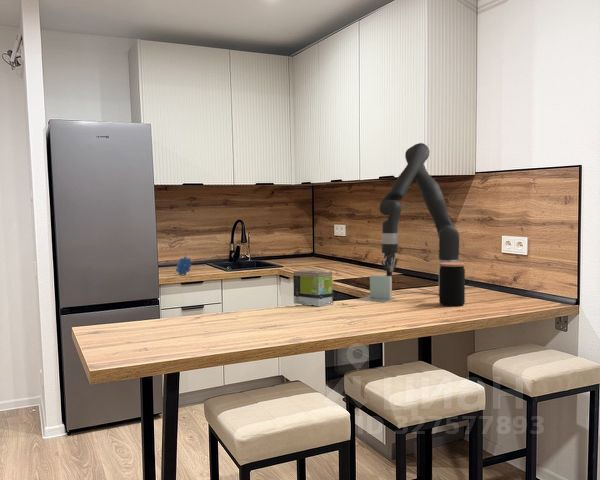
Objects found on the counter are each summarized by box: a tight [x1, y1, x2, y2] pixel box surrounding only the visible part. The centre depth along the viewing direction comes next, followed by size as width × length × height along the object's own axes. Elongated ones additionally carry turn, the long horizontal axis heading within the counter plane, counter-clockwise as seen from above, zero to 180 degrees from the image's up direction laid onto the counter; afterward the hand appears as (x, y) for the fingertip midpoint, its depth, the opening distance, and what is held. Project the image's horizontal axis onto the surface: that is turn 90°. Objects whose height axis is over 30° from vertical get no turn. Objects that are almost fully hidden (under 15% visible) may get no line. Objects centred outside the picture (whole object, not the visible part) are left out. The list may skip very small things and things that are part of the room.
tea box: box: [292, 269, 333, 307], centre depth 250 cm, size 15×10×15 cm, turn 47°
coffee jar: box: [438, 262, 466, 308], centre depth 244 cm, size 11×11×18 cm
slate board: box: [355, 295, 397, 303], centre depth 253 cm, size 14×14×2 cm
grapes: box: [175, 256, 193, 275], centre depth 374 cm, size 12×7×12 cm, turn 134°
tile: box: [369, 274, 393, 299], centre depth 257 cm, size 10×2×10 cm, turn 56°
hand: (389, 279), depth 265 cm, fingers closed
